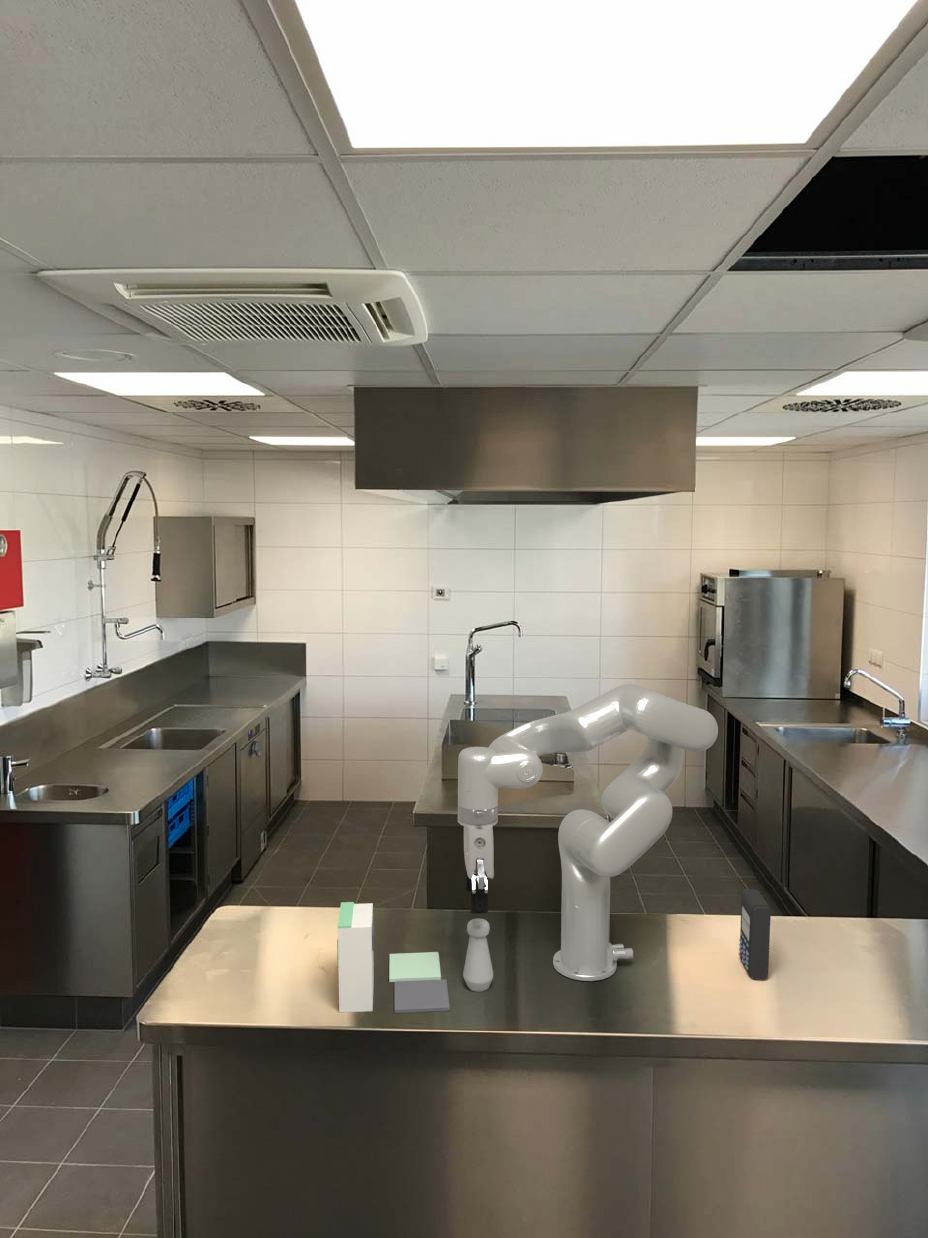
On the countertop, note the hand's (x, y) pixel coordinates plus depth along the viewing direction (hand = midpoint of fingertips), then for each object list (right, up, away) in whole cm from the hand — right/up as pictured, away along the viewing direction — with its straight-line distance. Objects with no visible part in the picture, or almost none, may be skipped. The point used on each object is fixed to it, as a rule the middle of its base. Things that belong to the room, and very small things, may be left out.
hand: (476, 901), depth 167 cm
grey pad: (-10, -17, -2) cm, 20 cm away
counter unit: (-22, -17, -2) cm, 28 cm away
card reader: (+55, -16, +8) cm, 58 cm away
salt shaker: (0, -17, +2) cm, 17 cm away
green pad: (-12, -16, +9) cm, 22 cm away
